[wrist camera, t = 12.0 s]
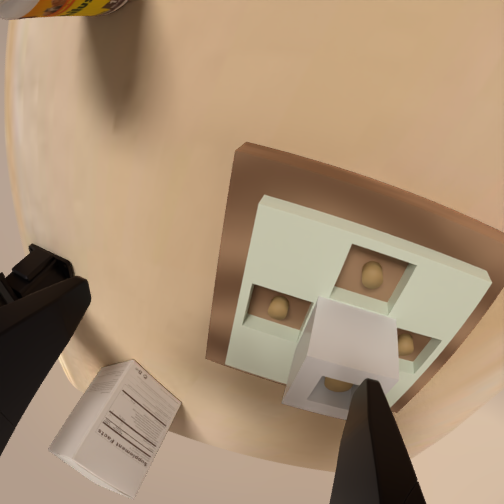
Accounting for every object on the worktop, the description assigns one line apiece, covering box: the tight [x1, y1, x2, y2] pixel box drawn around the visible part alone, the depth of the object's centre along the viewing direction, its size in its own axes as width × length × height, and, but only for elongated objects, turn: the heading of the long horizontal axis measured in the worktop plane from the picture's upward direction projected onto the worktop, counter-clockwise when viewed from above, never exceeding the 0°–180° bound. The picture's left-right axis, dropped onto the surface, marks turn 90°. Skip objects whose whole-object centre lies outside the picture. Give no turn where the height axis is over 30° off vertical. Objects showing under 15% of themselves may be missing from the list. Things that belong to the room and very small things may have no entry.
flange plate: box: [225, 195, 492, 420], centre depth 18 cm, size 14×14×6 cm
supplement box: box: [48, 360, 181, 499], centre depth 32 cm, size 9×9×15 cm
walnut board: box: [205, 142, 504, 413], centre depth 19 cm, size 18×18×7 cm
